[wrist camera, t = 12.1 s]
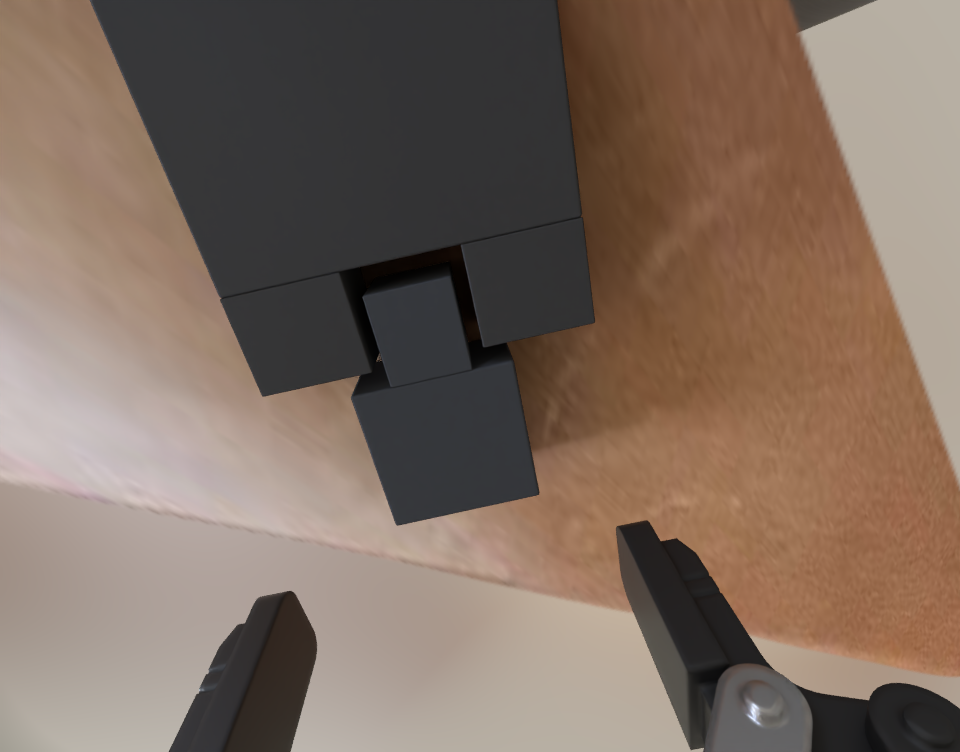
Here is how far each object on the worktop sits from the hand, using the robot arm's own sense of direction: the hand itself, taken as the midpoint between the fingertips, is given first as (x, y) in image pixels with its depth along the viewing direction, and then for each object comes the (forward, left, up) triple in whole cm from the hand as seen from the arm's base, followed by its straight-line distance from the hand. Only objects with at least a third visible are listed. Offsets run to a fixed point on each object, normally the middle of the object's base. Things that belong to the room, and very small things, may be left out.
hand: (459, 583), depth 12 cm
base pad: (-9, 0, -10) cm, 14 cm away
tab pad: (-1, 0, -10) cm, 10 cm away
